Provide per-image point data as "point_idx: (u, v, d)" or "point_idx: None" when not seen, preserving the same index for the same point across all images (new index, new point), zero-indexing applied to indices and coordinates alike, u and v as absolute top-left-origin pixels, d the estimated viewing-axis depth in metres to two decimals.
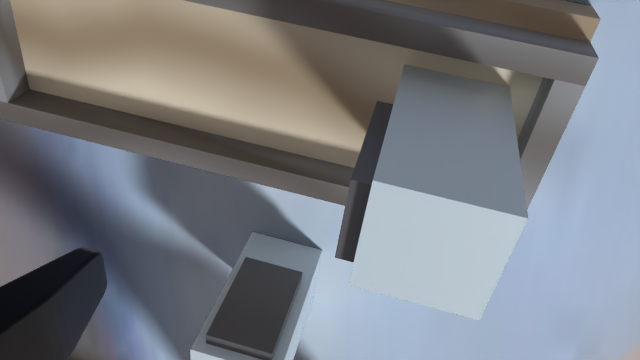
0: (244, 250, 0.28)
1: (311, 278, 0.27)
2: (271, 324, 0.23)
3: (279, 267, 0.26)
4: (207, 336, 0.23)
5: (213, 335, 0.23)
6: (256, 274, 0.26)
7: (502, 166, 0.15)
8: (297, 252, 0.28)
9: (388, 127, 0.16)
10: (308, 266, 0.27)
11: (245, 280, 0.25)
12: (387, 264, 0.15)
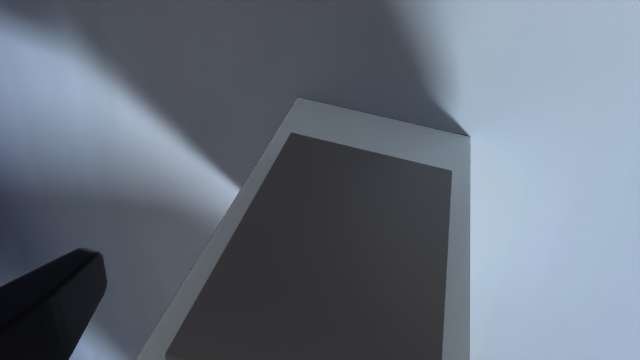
0: (282, 129, 0.11)
1: (467, 193, 0.10)
2: (404, 314, 0.07)
3: (386, 158, 0.09)
4: None
5: (195, 356, 0.06)
6: (326, 171, 0.09)
7: None
8: (412, 138, 0.11)
9: None
10: (450, 167, 0.11)
11: (296, 184, 0.08)
12: None
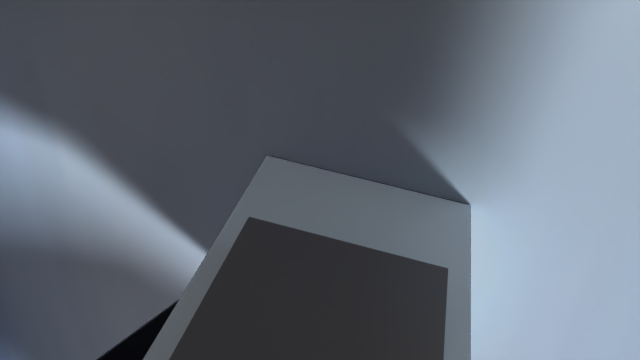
0: (244, 202, 0.09)
1: (467, 290, 0.08)
2: None
3: (366, 252, 0.08)
4: None
5: None
6: (288, 277, 0.07)
7: None
8: (402, 209, 0.09)
9: None
10: (446, 250, 0.09)
11: (248, 300, 0.07)
12: None
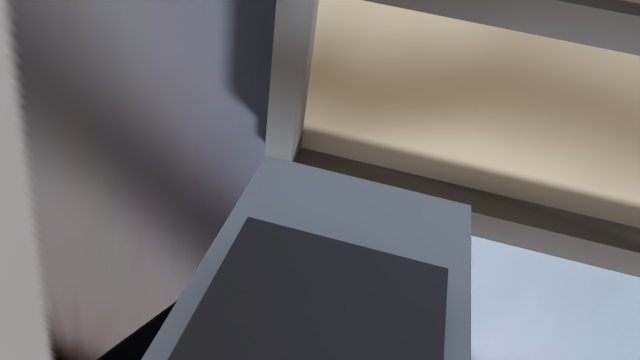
0: (243, 202, 0.09)
1: (467, 290, 0.08)
2: None
3: (366, 252, 0.07)
4: None
5: None
6: (287, 277, 0.07)
7: None
8: (402, 209, 0.09)
9: None
10: (446, 250, 0.09)
11: (246, 300, 0.07)
12: None
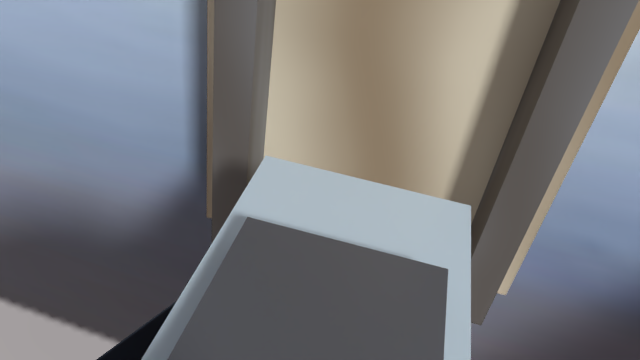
0: (243, 202, 0.09)
1: (467, 290, 0.08)
2: None
3: (365, 252, 0.07)
4: None
5: None
6: (287, 277, 0.07)
7: None
8: (402, 210, 0.09)
9: None
10: (446, 251, 0.09)
11: (246, 301, 0.07)
12: None
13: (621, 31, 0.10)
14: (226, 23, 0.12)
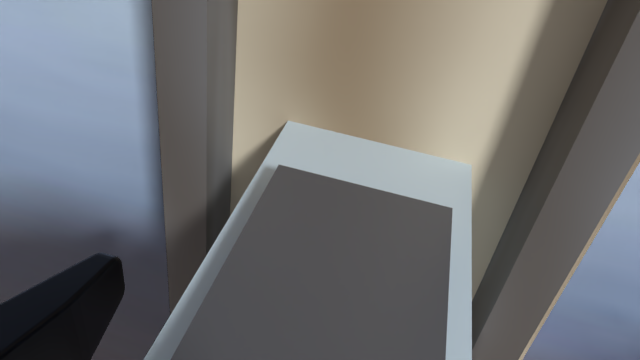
0: (270, 158, 0.10)
1: (468, 231, 0.09)
2: None
3: (381, 194, 0.09)
4: None
5: None
6: (316, 210, 0.08)
7: None
8: (410, 166, 0.11)
9: None
10: (450, 200, 0.10)
11: (283, 227, 0.08)
12: None
13: None
14: (170, 71, 0.10)
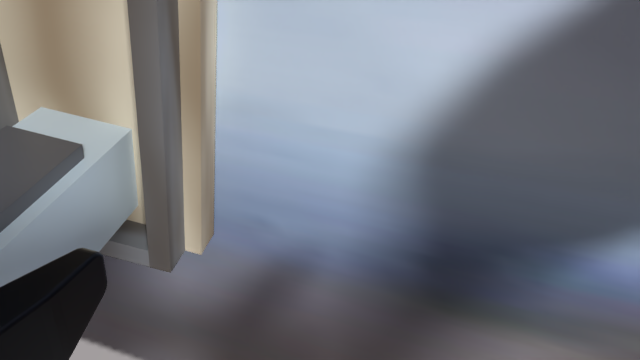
0: (18, 124, 0.20)
1: (100, 157, 0.19)
2: None
3: (50, 138, 0.19)
4: None
5: None
6: (10, 143, 0.18)
7: None
8: (94, 129, 0.21)
9: None
10: (103, 144, 0.20)
11: None
12: None
13: (160, 91, 0.18)
14: None
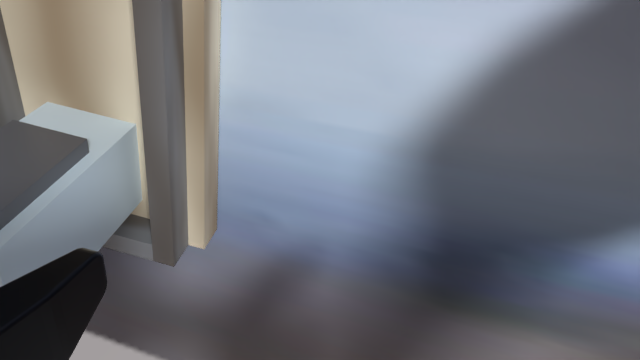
0: (24, 119, 0.21)
1: (105, 151, 0.20)
2: (5, 191, 0.16)
3: (55, 132, 0.19)
4: None
5: None
6: (17, 137, 0.19)
7: None
8: (99, 124, 0.21)
9: None
10: (107, 138, 0.20)
11: None
12: None
13: (164, 86, 0.18)
14: None
